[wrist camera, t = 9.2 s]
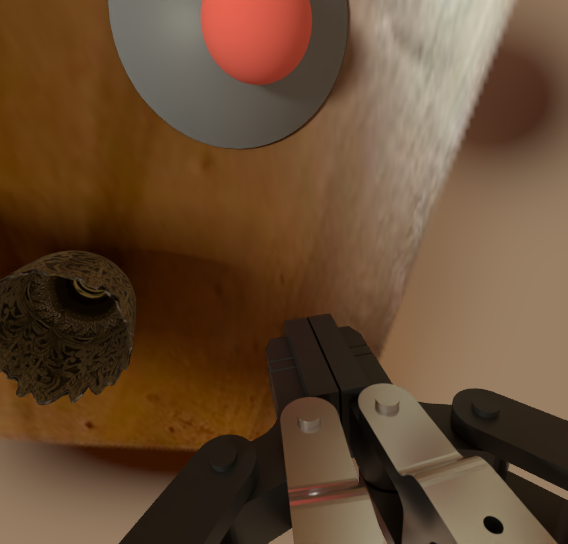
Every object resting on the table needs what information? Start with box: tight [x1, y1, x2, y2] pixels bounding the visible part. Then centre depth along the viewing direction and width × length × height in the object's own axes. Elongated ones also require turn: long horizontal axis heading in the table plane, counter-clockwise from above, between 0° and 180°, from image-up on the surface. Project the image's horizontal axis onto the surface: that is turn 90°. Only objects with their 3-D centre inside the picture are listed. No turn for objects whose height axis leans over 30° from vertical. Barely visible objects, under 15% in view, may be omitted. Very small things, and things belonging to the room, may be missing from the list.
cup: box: [0, 250, 137, 405], centre depth 22 cm, size 8×7×8 cm
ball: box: [201, 0, 312, 85], centre depth 19 cm, size 6×6×6 cm
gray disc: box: [108, 0, 348, 149], centre depth 21 cm, size 13×13×1 cm
